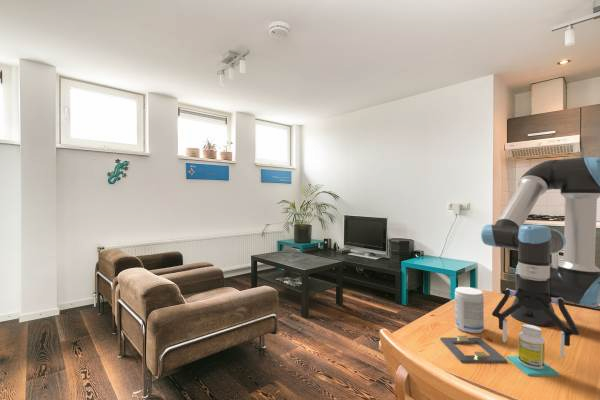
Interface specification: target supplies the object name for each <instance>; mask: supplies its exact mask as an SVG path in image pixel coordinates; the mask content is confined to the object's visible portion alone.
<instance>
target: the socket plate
mask: <svg viewBox="0 0 600 400" xmlns="http://www.w3.org/2000/svg"><path fill="white" fill-rule="evenodd" d="M439 341H441V343H442V344H444V346H446V348H447V349H448V350H449V351H450V352H451V354H452V355H454V356H455V358H456V359H457V360H458V362H460V363H508V359H507V358H506V357H504V356H503V355H502V354H501V353H499V352H498V351H497V350H496V349H494V348H493V347H492V345H489V343H488V342H486V341H485V340H484V339H482V338H481V337H469V336H467V335H457V337H440V340H439ZM456 344H477V345H478V346H479V347H480V348H482V349H483V350H484V351H474V355H468V354H464V353H463V352H462V350H461V349H460V348H459V347H457V346H456Z"/></svg>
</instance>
